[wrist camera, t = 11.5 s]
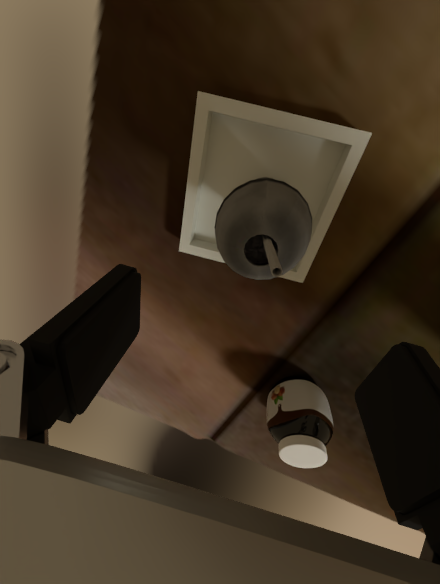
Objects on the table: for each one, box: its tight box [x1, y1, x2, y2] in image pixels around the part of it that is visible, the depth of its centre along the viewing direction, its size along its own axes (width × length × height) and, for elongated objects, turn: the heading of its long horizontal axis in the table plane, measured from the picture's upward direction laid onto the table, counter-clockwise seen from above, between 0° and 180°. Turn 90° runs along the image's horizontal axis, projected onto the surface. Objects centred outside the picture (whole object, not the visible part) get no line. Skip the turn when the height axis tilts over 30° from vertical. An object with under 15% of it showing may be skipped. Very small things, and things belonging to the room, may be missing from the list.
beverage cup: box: [214, 177, 312, 280], centre depth 20 cm, size 7×7×20 cm
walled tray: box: [179, 91, 372, 283], centre depth 28 cm, size 16×16×3 cm
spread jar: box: [267, 377, 333, 468], centre depth 42 cm, size 12×11×12 cm
